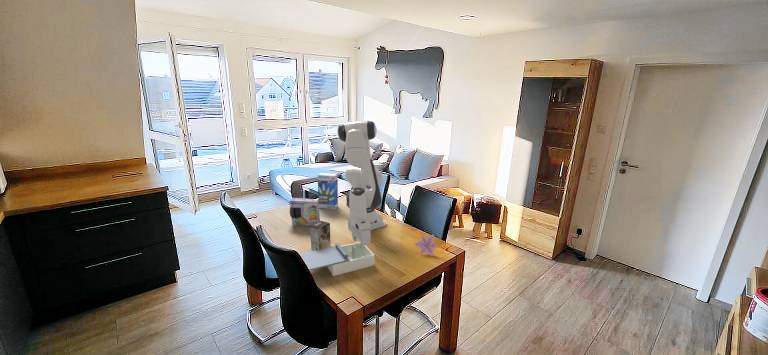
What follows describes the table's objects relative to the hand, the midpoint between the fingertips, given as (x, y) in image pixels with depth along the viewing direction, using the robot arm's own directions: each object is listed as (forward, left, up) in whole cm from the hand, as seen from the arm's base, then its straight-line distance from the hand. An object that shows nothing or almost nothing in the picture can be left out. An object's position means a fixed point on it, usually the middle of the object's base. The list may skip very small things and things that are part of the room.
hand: (358, 244), depth 162 cm
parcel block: (+1, 0, -9) cm, 9 cm away
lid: (+19, 0, -3) cm, 19 cm away
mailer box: (+6, 0, -9) cm, 11 cm away
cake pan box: (+14, -56, -10) cm, 58 cm away
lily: (-37, +9, -10) cm, 39 cm away
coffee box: (+15, -18, -9) cm, 25 cm away
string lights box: (-10, -80, -9) cm, 81 cm away
